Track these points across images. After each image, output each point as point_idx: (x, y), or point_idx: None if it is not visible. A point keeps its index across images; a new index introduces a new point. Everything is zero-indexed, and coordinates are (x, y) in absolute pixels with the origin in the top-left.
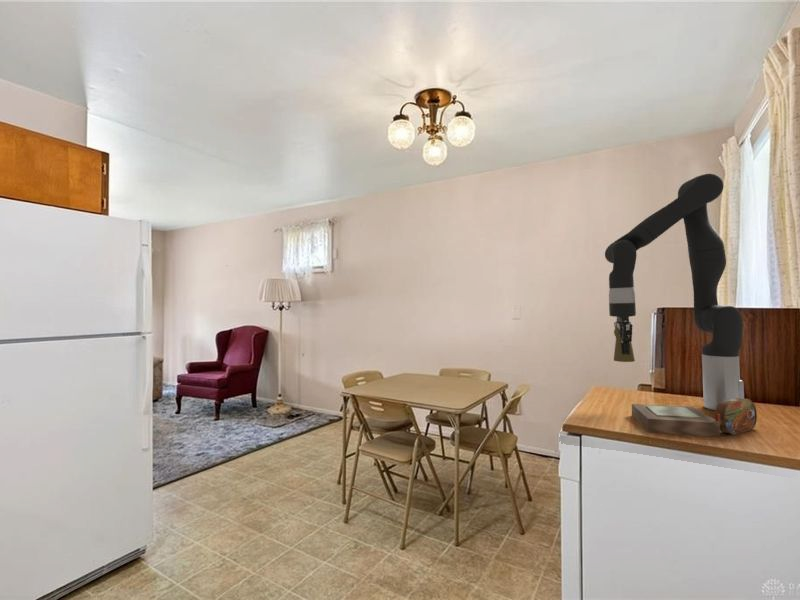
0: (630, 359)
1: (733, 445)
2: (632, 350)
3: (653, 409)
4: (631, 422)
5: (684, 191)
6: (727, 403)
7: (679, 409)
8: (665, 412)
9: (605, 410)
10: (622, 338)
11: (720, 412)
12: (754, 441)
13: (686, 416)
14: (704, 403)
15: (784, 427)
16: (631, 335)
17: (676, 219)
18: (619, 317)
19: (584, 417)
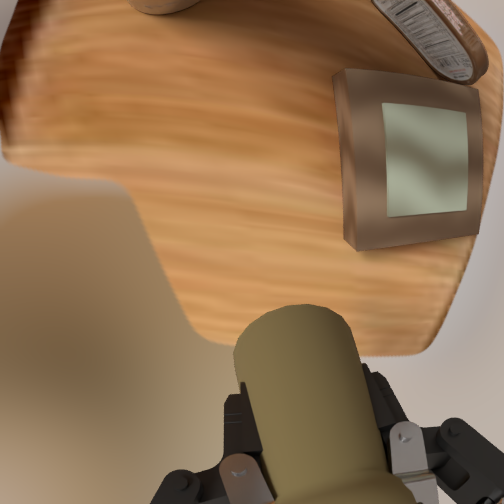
0: (352, 336)
1: (488, 97)
2: (344, 366)
3: (426, 205)
4: (405, 248)
5: None
6: (482, 50)
7: (413, 130)
8: (447, 182)
9: (303, 300)
10: (434, 470)
11: (480, 76)
12: None
13: (467, 143)
14: (165, 9)
15: None
16: (493, 447)
17: None
18: None
19: (377, 339)
